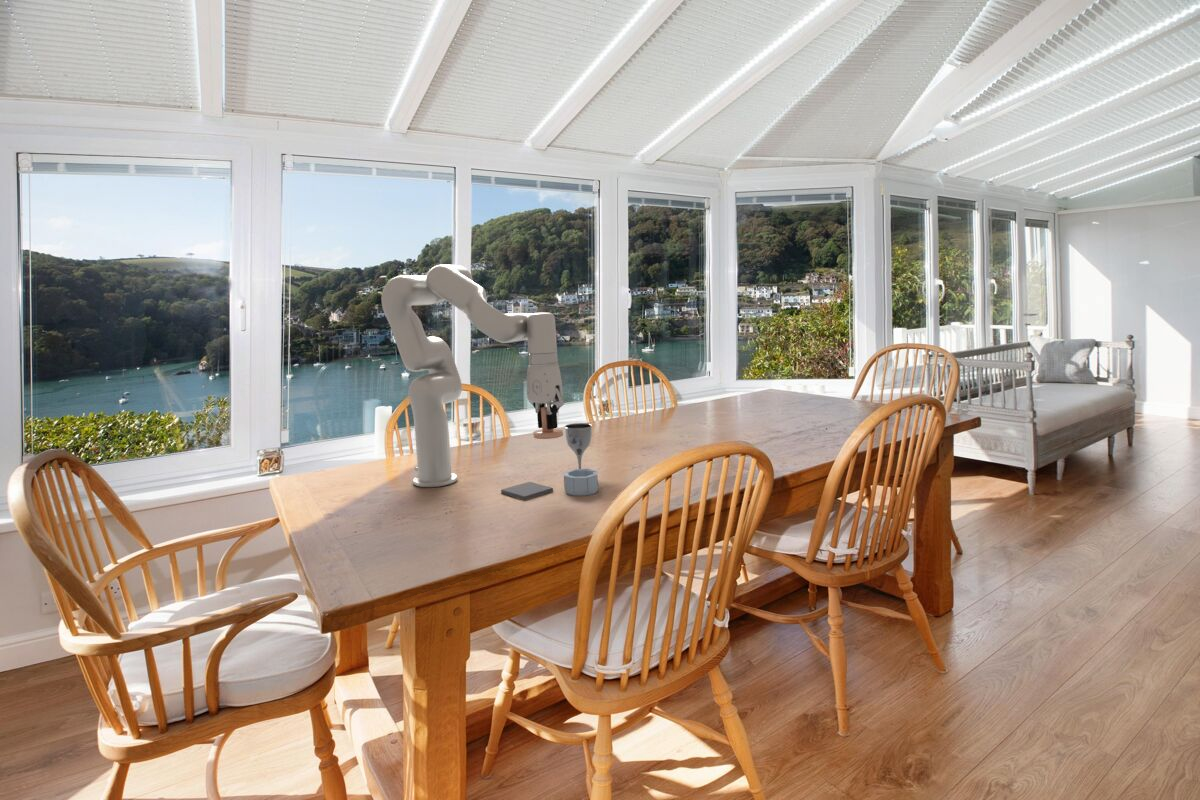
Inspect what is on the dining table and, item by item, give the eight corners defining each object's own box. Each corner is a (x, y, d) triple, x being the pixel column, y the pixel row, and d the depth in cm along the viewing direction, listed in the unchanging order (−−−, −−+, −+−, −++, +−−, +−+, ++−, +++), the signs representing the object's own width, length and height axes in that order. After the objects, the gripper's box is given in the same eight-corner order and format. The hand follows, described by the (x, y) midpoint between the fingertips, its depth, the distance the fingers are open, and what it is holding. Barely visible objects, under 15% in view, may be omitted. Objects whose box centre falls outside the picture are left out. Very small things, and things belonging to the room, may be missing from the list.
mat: (501, 493, 186) (501, 489, 186) (529, 485, 193) (529, 481, 193) (524, 500, 179) (524, 496, 179) (553, 491, 186) (552, 487, 186)
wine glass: (590, 479, 197) (588, 428, 195) (563, 478, 198) (561, 428, 196) (596, 472, 205) (594, 423, 202) (570, 471, 206) (568, 423, 204)
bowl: (558, 491, 185) (557, 474, 185) (581, 484, 192) (581, 467, 191) (581, 498, 179) (580, 479, 178) (604, 490, 185) (604, 472, 185)
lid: (527, 436, 183) (525, 408, 182) (549, 431, 189) (548, 404, 188) (546, 440, 178) (544, 411, 176) (569, 434, 183) (567, 406, 182)
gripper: (513, 360, 183) (518, 427, 186) (552, 361, 172) (557, 433, 175) (534, 357, 189) (539, 422, 191) (574, 359, 177) (578, 428, 180)
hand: (547, 427), depth 183 cm, fingers closed on lid, 3 cm apart
